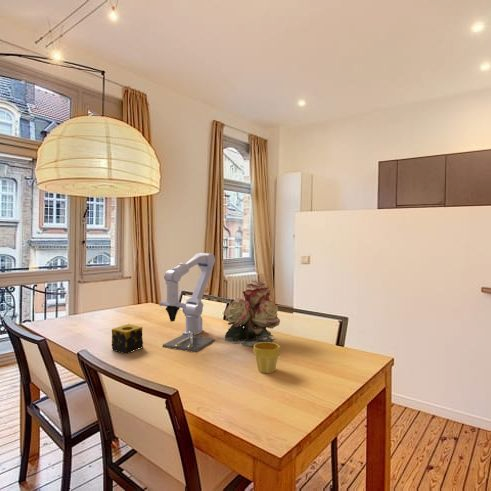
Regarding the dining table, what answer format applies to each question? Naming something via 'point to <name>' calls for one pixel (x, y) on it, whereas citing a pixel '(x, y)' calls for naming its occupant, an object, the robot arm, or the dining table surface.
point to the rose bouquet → (252, 316)
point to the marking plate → (185, 344)
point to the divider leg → (191, 336)
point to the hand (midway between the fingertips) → (172, 321)
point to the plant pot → (266, 356)
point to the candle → (127, 338)
